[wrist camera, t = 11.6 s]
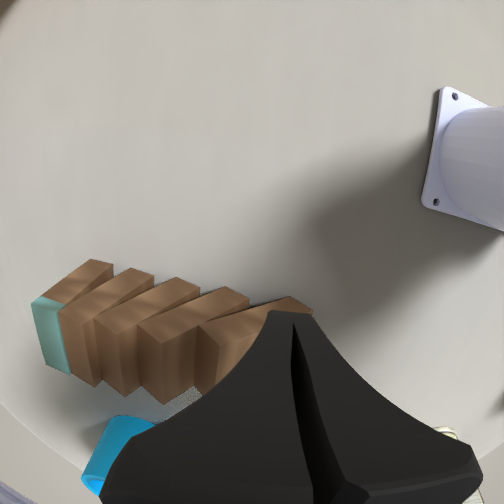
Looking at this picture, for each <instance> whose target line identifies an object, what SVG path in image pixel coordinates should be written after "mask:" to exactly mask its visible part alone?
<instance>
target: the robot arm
mask: <svg viewBox="0 0 504 504" xmlns="http://www.w3.org/2000/svg"><path fill="white" fill-rule="evenodd" d="M452 93H453V94H454V95H455V100H454V99H453V98H452ZM435 198H436V199H437V203H436V204H435V205H434V204H433V200H434V199H435ZM421 202H422V204H423V205H424V206H425V207H427V208H430V209H433V210H437V211H440V212H444V213H447V214H451V215H454V216H457V217H461V218H464V219H467V220H470V221H473V222H476V223H480V224H483V225H486V226H489V227H492V228H495V229H498V230H500V231H503V232H504V106H501V107H489V106H487V105H485V104H484V103H482V102H480V101H478V100H476V99H474V98H472V97H470V96H468V95H466V94H464V93H462V92H460V91H457V90H455V89H453V88H451V87H448V86H445V87H442V88H441V89H440V95H439V103H438V111H437V119H436V125H435V132H434V138H433V144H432V149H431V155H430V160H429V165H428V170H427V175H426V179H425V184H424V188H423V193H422V197H421ZM482 481H483V473H482V471H481V468H480V466H479V464H478V461H477V459H476V457H475V454H474V452H473V450H472V448H471V446H470V445H468V444H466V443H464V442H461V441H459V440H457V439H454V438H452V437H450V436H447V435H445V434H443V433H441V432H438V431H436V430H434V429H433V428H431V427H429V426H427V425H425V424H424V423H422V422H420V421H418V420H417V419H415V418H413V417H412V416H410V415H409V414H407V413H406V412H404V411H403V410H401V409H400V408H398V407H397V406H396V405H394V404H393V403H391V402H390V401H389V400H387V399H386V398H385V397H383V396H382V395H381V394H380V393H379V392H377V391H376V390H375V389H374V388H373V387H372V386H371V385H369V384H368V383H367V382H366V381H365V380H364V379H363V378H362V377H361V376H360V375H359V374H358V373H357V372H356V371H355V370H354V369H353V368H352V367H351V366H350V365H349V364H348V363H347V362H346V360H345V359H344V358H343V357H342V356H341V355H340V354H339V352H338V351H337V350H336V348H335V347H334V346H333V345H332V343H331V342H330V341H329V339H328V338H327V337H326V335H325V334H324V333H323V331H322V330H321V328H320V327H319V326H318V324H317V323H316V321H315V320H314V318H313V317H312V316H311V314H308V313H297V312H288V311H278V310H270V311H269V312H267V317H266V320H265V323H264V325H263V327H262V329H261V331H260V333H259V334H258V336H257V337H256V339H255V341H254V342H253V344H252V345H251V347H250V348H249V349H248V351H247V352H246V353H245V354H244V356H243V357H242V358H241V360H240V361H239V362H238V363H237V364H236V365H235V367H234V368H233V369H232V370H231V371H230V372H229V373H228V374H227V375H226V376H225V377H224V378H223V379H222V380H221V381H220V382H219V383H218V384H216V385H215V386H214V387H213V388H212V389H211V390H209V391H208V392H207V393H206V394H205V395H203V396H202V397H201V398H199V399H198V400H197V401H195V402H194V403H192V404H191V405H189V406H188V407H186V408H185V409H183V410H182V411H180V412H179V413H177V414H176V415H174V416H172V417H171V418H169V419H167V420H165V421H164V422H162V423H160V424H158V425H156V426H154V427H152V428H150V429H147V430H145V431H143V432H141V433H139V434H137V435H135V436H132V437H131V438H130V439H129V440H128V442H127V443H126V444H125V446H124V447H123V448H122V450H121V451H120V453H119V454H118V456H117V457H116V459H115V460H114V462H113V464H112V465H111V467H110V469H109V472H108V474H107V476H106V479H105V481H104V484H103V486H102V489H101V491H100V494H99V498H100V500H101V502H102V503H103V504H462V503H463V502H464V501H466V500H467V499H468V498H469V497H470V496H471V495H472V494H473V493H474V492H475V491H476V490H477V489H478V487H479V486H480V484H481V483H482ZM0 504H37V503H35V502H33V501H31V500H30V499H28V498H26V497H25V496H23V495H21V494H20V493H18V492H17V491H15V490H14V489H12V488H11V487H9V486H8V485H6V484H5V483H3V482H2V481H0Z"/></svg>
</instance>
